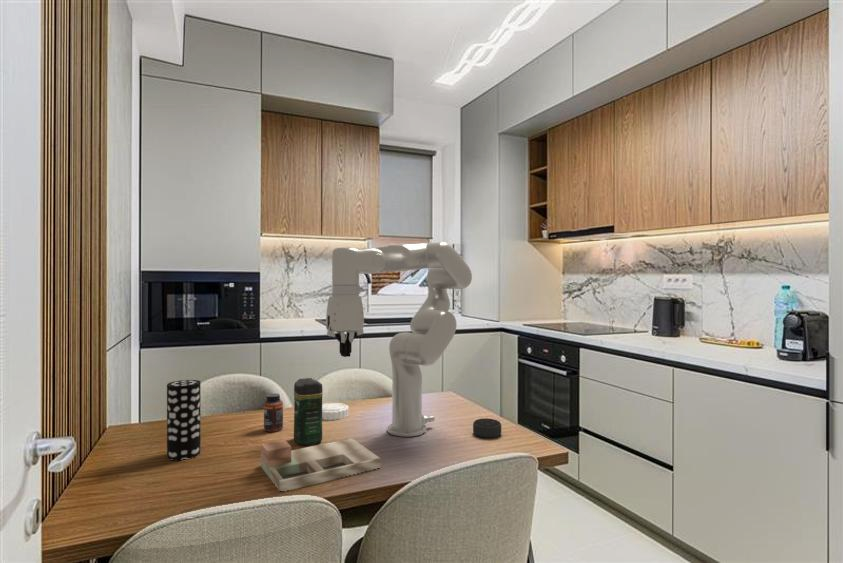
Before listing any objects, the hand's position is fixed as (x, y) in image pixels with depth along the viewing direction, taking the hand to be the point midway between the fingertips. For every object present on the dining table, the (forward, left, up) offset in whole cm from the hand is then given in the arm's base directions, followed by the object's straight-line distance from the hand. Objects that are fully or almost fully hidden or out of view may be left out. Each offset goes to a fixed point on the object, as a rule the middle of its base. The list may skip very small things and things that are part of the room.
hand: (345, 355), depth 134 cm
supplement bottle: (+12, -30, -27) cm, 42 cm away
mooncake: (-10, -35, -28) cm, 46 cm away
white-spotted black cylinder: (+39, -21, -27) cm, 52 cm away
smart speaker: (-44, +10, -28) cm, 53 cm away
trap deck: (+10, +7, -27) cm, 30 cm away
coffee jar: (+6, -14, -27) cm, 31 cm away
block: (+20, +3, -25) cm, 32 cm away
